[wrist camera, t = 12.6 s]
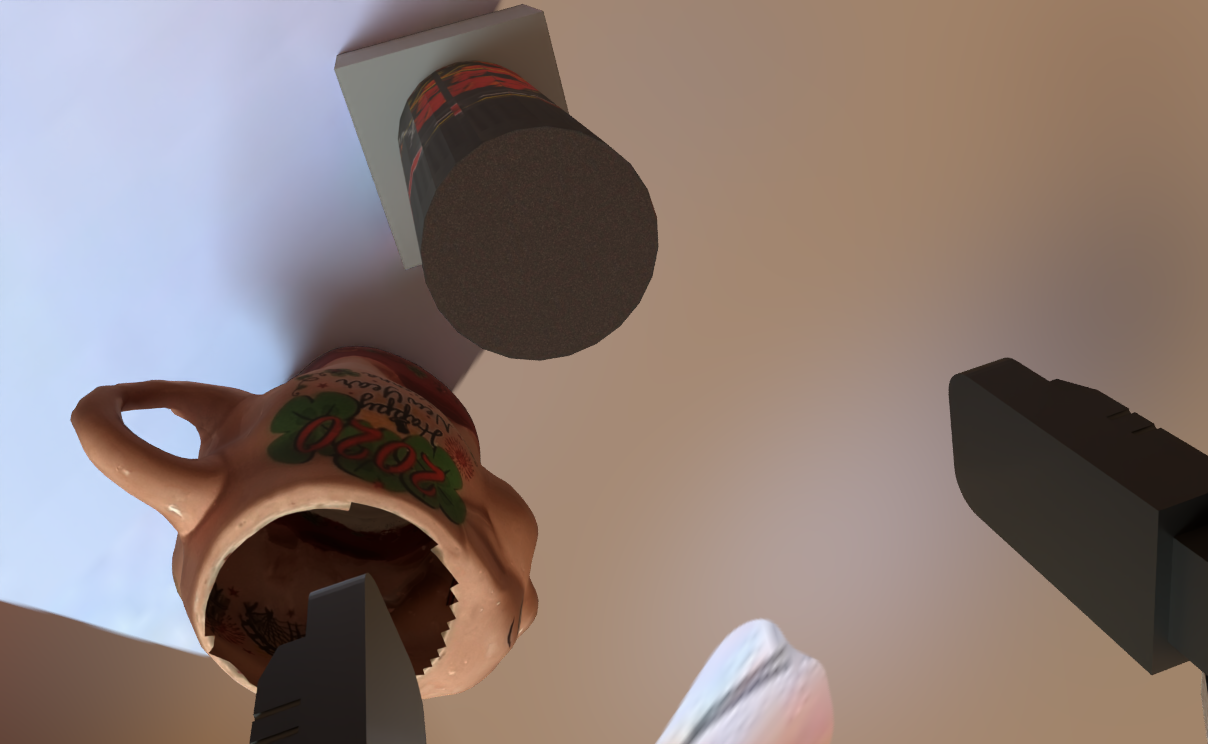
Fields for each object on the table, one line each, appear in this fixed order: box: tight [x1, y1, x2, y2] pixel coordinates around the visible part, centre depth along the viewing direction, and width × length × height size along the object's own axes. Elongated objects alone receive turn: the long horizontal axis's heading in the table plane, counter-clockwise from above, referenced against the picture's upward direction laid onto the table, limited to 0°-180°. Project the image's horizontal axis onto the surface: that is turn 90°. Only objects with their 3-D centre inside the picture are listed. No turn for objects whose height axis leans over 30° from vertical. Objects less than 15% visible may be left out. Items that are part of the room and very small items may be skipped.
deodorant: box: [398, 60, 658, 360], centre depth 30 cm, size 6×6×15 cm
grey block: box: [334, 4, 569, 270], centre depth 39 cm, size 8×8×5 cm
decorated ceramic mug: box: [71, 346, 538, 699], centre depth 39 cm, size 20×12×14 cm, turn 57°
